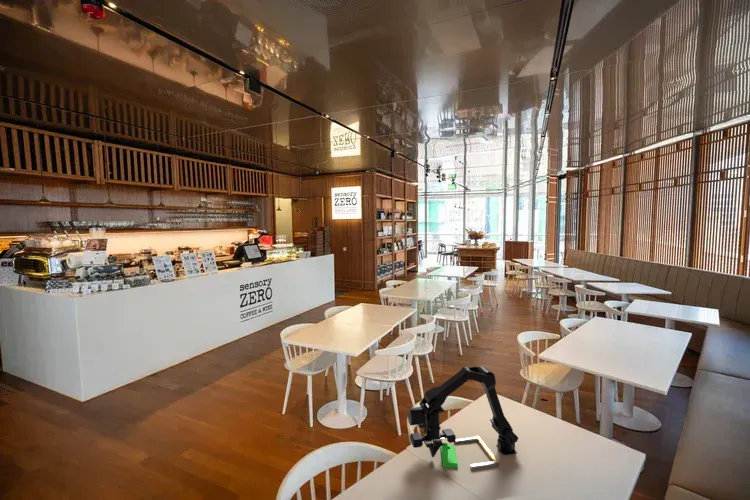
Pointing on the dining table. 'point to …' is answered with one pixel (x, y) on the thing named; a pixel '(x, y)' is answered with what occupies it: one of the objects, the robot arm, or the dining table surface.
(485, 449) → the u-shaped frame
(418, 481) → the dining table surface
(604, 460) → the dining table surface
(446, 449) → the mechanical part
